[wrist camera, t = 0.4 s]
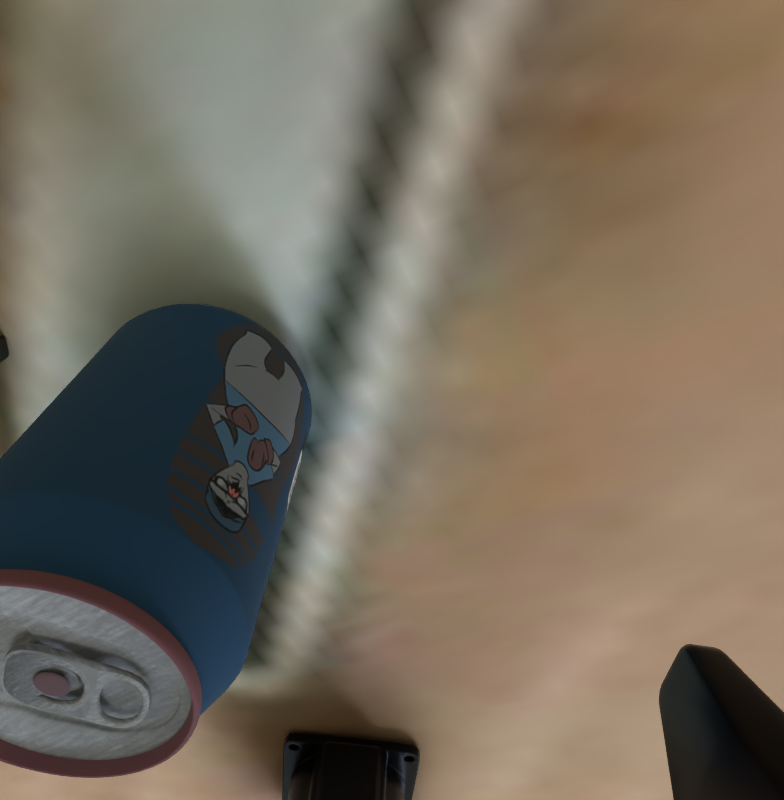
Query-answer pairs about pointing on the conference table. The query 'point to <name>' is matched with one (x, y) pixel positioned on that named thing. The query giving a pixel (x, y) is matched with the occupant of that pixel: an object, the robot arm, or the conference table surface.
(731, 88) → the conference table surface
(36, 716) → the soda can
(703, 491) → the conference table surface
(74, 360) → the conference table surface
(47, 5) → the conference table surface
